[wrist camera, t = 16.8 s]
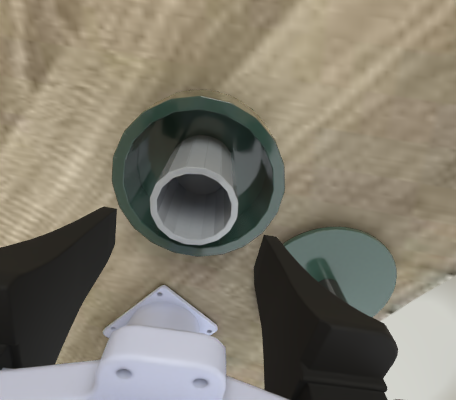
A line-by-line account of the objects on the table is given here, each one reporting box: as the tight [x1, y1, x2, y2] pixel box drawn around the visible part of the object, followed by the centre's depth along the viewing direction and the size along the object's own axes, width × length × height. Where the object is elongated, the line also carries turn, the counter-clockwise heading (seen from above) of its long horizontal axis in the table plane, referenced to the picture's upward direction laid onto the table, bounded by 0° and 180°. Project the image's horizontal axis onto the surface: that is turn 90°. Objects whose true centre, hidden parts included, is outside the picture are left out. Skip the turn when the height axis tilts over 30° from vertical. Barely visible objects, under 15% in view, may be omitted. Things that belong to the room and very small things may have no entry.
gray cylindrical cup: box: [150, 135, 238, 245], centre depth 20 cm, size 5×5×7 cm
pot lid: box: [283, 227, 397, 317], centre depth 27 cm, size 13×13×4 cm
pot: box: [112, 90, 285, 256], centre depth 22 cm, size 12×12×4 cm
